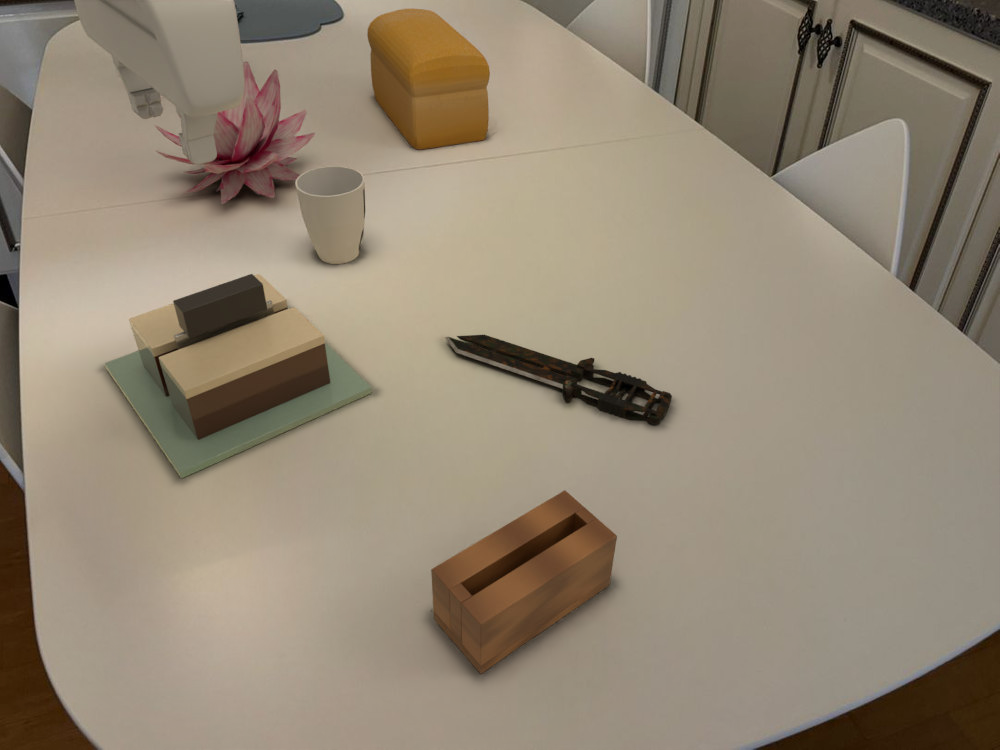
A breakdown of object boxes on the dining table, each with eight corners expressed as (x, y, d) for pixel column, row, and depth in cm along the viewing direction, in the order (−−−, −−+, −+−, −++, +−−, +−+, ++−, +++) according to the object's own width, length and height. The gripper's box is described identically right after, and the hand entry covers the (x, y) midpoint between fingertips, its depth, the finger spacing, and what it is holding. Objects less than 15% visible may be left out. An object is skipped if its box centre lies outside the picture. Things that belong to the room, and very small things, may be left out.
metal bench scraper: (194, 399, 84) (172, 315, 78) (185, 387, 86) (162, 304, 79) (286, 362, 89) (272, 280, 83) (276, 350, 90) (261, 270, 84)
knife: (437, 349, 93) (436, 339, 92) (471, 321, 97) (470, 310, 96) (649, 437, 82) (651, 426, 81) (676, 401, 86) (678, 390, 85)
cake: (181, 478, 77) (164, 422, 72) (106, 368, 89) (87, 315, 85) (372, 392, 87) (366, 338, 82) (281, 304, 99) (272, 253, 94)
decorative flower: (335, 205, 118) (323, 97, 108) (174, 231, 112) (146, 119, 102) (304, 144, 133) (290, 45, 124) (160, 164, 127) (135, 62, 118)
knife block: (480, 674, 62) (480, 625, 58) (433, 618, 66) (430, 569, 62) (609, 585, 68) (617, 535, 65) (560, 539, 72) (565, 489, 68)
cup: (381, 260, 107) (375, 186, 100) (319, 277, 103) (309, 202, 97) (356, 232, 112) (348, 160, 106) (296, 247, 109) (285, 174, 103)
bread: (370, 96, 149) (363, 6, 140) (440, 87, 153) (438, -1, 144) (413, 151, 132) (408, 52, 123) (490, 139, 136) (491, 43, 126)
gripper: (18, -107, 56) (80, 100, 64) (128, -44, 43) (187, 202, 52) (115, -117, 59) (162, 83, 68) (244, -60, 46) (281, 175, 55)
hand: (173, 136), depth 60 cm, fingers open, 8 cm apart
